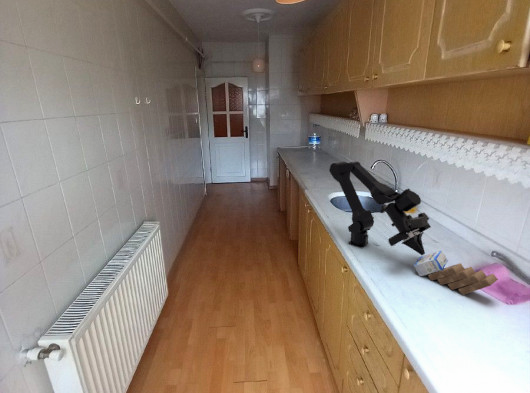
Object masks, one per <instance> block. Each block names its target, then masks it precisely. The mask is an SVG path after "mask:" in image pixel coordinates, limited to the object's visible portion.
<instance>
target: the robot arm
mask: <svg viewBox="0 0 530 393" xmlns="http://www.w3.org/2000/svg"><path fill="white" fill-rule="evenodd" d="M329 173H330V175H331V177H332V178H333V179H334V180H335V181H336V182H338V183H339V185H340V187H341V189H342V192H343V194H344V197H345V198H346V201H347V203H348V206H349V208H350V210H351V212H352V213H351V222H352V223H351V224H350V225H348V227H347V230H348V232H349V233H350V241H349V242H348V244H349V245H351V246H355V247H357V248H364V247H365V246H366V245H368V244H369V234H368V233H369V232H368V231H370V230H371V229H372V228H373V226H374V223H375V221H374V219H375V218H374V216H373V215H372V212H371V210H370V209H368V210H366V209H365V208H364V206H363V205H362V202H361V200H360V198H359V195H358V193H357V191H356V189H355V186H354V184H353V182H352V181H351V180H352V179H351V174H352V175H353V176H354V177H355V178H356V179H357V180H358V181H360V182H361V184H363V186H365V187H366V189H368V191H369V194H370V196H371V198H372V199H373V200H374V202H375V203H376V204H378V205H381V209H380V214H384V213H386V214H387V216H388V217H389V219H390V221H391V222H392V223H391V224H390V225H391V226H392V227H395V228H396V230H397V231H398V233H396V234H395V235H393V236H391V237H389V238H388V242H387V243H388V244H389V245H390V246H391V247H393V246H395V245H397V244H398V243H400V242H401V241H402V242H401V245H404V246H406V247H409V248H410V249H411V250H413V251H415V252H416V253H418V254H419V255H421V256H425V254H426V250H425V248H424V245H423V241H422V237H423V235H424V232H425V231H426V230H428V229H430V228H432V226H431V225H430V223H429V220H430V217H429V216H428V214H426V213H425V212H421V213H418V215H417V216H415V217H413V216H412V215H411V214H408V215H407V213H408V212H410V211H411V210H413V209H414V208H416V207H417V206H419V205H420V204H421V202H422V199H421V197H420V195H419V194H418V193H417V192H414V191H412V190H411V189H410V188H407V189H406V188H405V189H404V190H403V191H402V192H401V193H400V192H396V191H395V190H394V189H393V188H392V187H390V186H389V185H387V184H385V183H382V182H381V181H379V180H378V179H377V178H376V177H374V176H373V175H372V174H371V172H369V171H368V170H367V169H366V168H364V166H362V164H361V163H360V162H359V161H357V160H354V161H351V162H347V161H336V162H333V163H331V164H330V166H329ZM386 204H387V205H386ZM406 212H407V213H406Z"/></svg>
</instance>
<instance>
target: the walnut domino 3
mask: <svg viewBox="0 0 530 393" xmlns="http://www.w3.org/2000/svg"><path fill="white" fill-rule="evenodd" d="M486 276H487V275H486V273H485V272H484V271H483V269H482V270H479V271H475V273H474V274H472V275H471V276H469V277H468V278H464V279H461V280H457V281H454V282H450V283H447V286H448V287H449V289H450V290H451V291H452V290H456V289H459V288H461V287H463V286H466V285H469V284H472V283H476V282H479V281H480V280H482V279H483V278H484V277H486Z"/></svg>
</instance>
